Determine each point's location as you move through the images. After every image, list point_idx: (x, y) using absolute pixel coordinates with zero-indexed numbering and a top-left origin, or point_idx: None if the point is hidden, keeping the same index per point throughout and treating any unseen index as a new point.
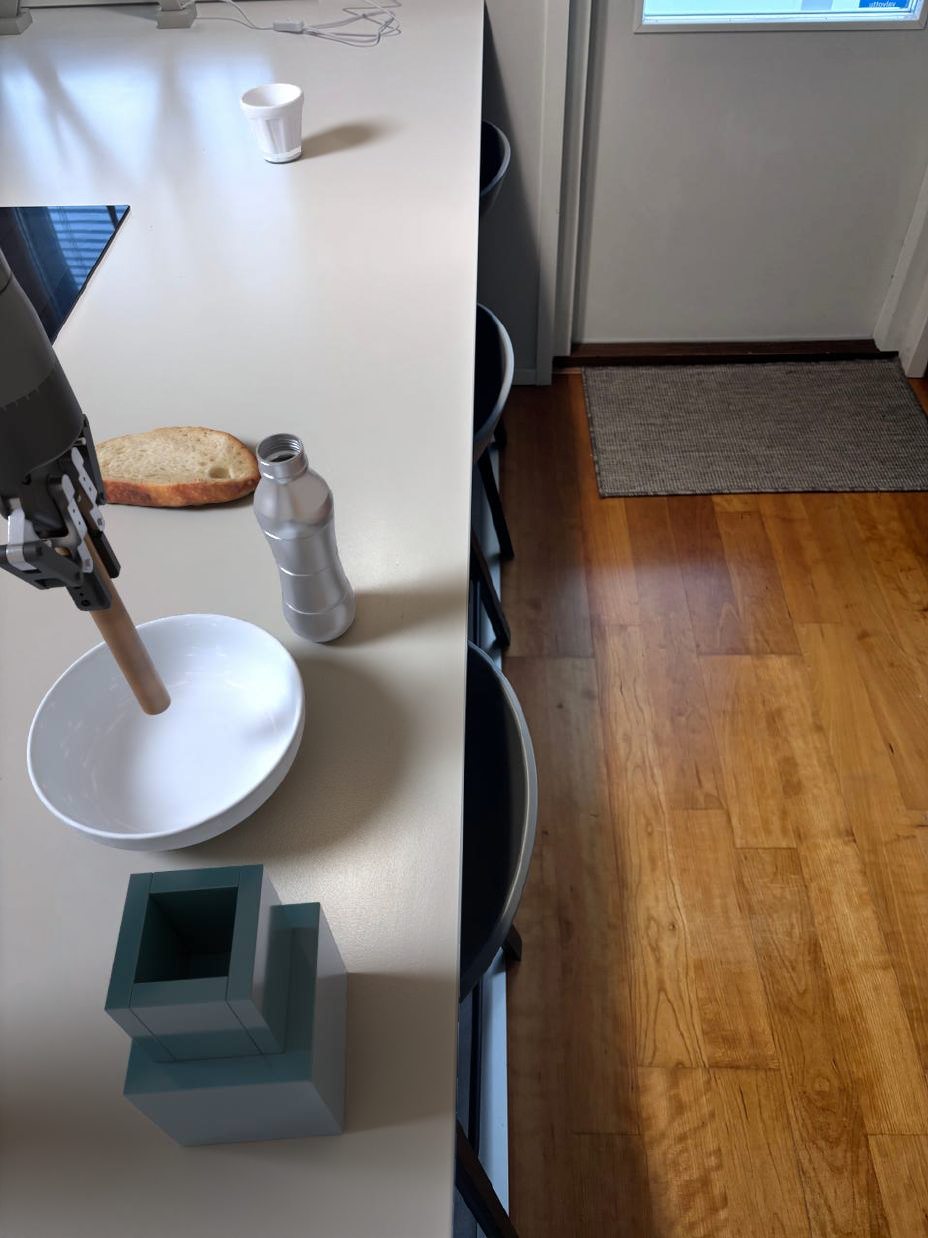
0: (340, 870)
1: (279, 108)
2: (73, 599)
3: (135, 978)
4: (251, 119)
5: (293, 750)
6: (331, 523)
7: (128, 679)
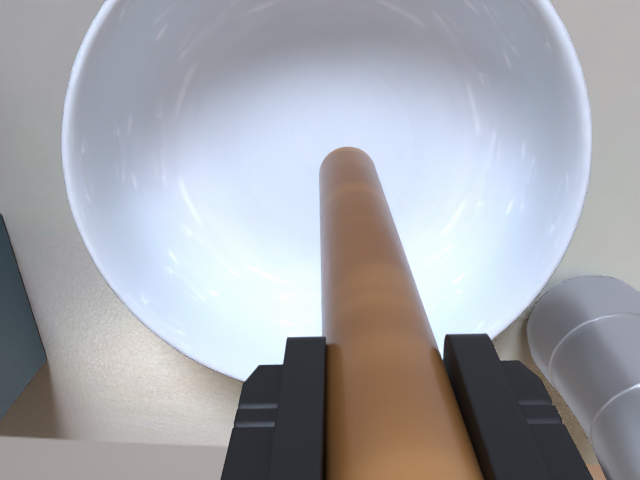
0: (165, 347)
1: None
2: (237, 417)
3: None
4: None
5: None
6: None
7: (323, 197)
